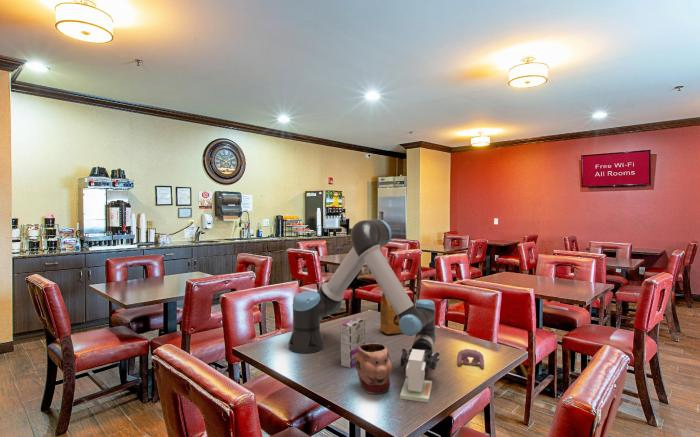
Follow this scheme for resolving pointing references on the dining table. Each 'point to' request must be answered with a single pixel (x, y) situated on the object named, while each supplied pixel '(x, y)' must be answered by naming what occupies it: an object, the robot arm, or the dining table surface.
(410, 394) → the board
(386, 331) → the coffee package
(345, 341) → the candy bar box
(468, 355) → the video game controller
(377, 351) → the decorative planter
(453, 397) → the dining table surface
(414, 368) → the block
